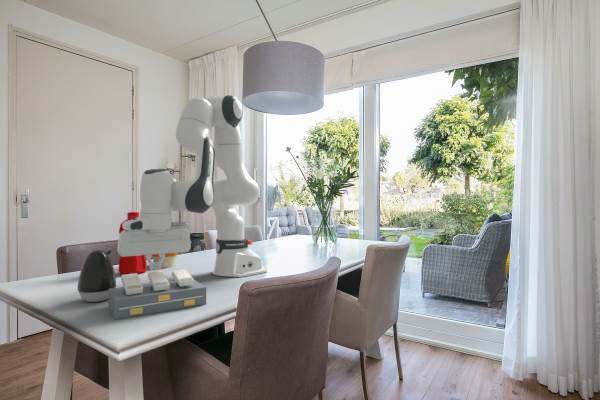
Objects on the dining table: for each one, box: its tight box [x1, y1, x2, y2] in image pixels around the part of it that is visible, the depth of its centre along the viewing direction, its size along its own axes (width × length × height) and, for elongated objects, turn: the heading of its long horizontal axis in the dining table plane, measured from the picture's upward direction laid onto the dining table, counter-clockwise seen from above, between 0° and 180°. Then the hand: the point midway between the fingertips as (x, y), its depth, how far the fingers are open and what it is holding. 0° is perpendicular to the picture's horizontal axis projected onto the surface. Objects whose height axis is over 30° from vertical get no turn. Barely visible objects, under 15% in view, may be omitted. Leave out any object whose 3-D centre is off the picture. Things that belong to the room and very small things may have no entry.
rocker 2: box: [147, 270, 170, 291], centre depth 102 cm, size 4×9×2 cm, turn 35°
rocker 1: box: [121, 273, 143, 295], centre depth 98 cm, size 4×9×2 cm, turn 35°
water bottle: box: [118, 211, 148, 275], centre depth 144 cm, size 9×11×25 cm
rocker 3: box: [171, 268, 195, 287], centre depth 106 cm, size 4×9×2 cm, turn 35°
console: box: [108, 279, 207, 320], centre depth 102 cm, size 24×13×6 cm, turn 125°
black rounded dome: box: [77, 249, 117, 303], centre depth 107 cm, size 10×10×15 cm
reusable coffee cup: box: [152, 253, 179, 269], centre depth 158 cm, size 13×13×15 cm
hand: (155, 269), depth 105 cm, fingers closed
